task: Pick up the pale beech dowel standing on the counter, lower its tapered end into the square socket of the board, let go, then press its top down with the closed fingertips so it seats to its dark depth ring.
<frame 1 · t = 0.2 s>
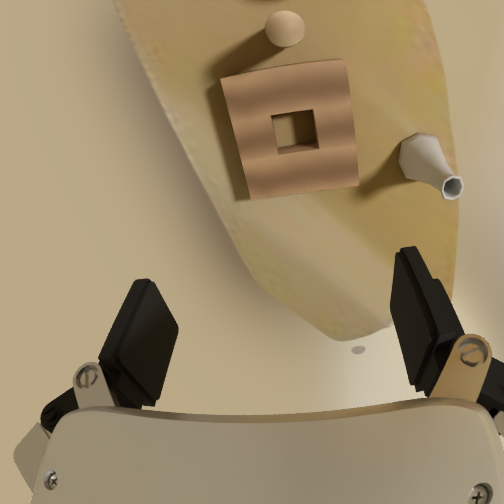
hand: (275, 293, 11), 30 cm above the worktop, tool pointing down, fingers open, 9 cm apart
peg: (283, 33, 29), on the worktop
flask: (419, 156, 37), on the worktop
board: (294, 126, 36), on the worktop
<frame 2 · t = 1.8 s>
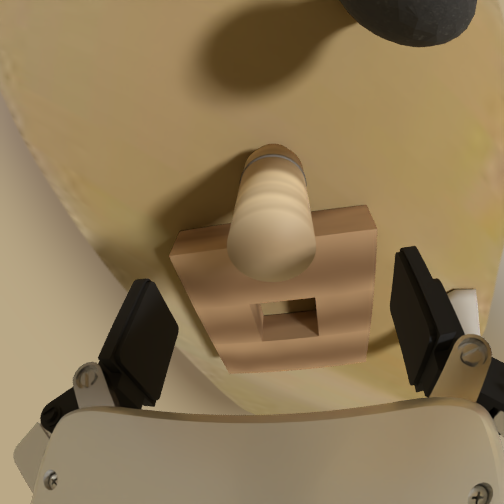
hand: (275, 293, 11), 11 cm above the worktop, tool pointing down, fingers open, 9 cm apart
peg: (273, 163, 19), on the worktop
flask: (448, 309, 27), on the worktop
light bulb: (357, 1, 12), on the worktop
board: (286, 294, 27), on the worktop
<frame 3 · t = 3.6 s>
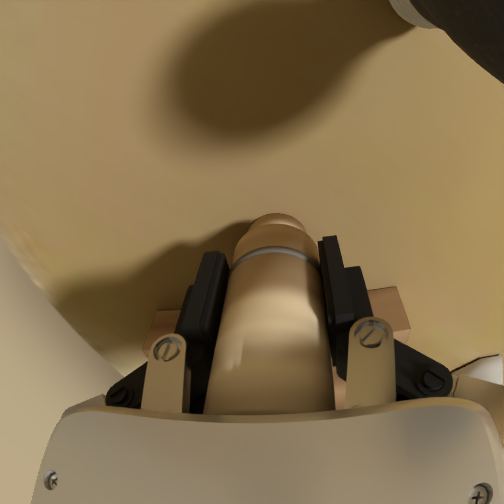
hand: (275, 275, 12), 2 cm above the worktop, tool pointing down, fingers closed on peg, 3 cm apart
peg: (276, 239, 14), on the worktop, touching gripper
flask: (469, 374, 22), on the worktop
light bulb: (407, 1, 7), on the worktop
board: (288, 375, 21), on the worktop
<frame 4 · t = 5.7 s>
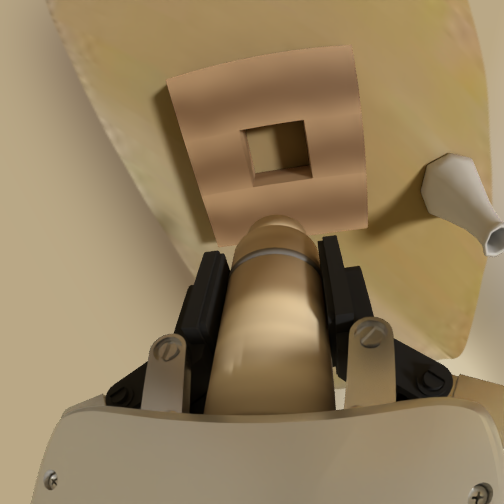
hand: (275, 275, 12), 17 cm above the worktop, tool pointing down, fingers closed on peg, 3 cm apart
peg: (276, 241, 14), point 15 cm above the worktop, touching gripper
flask: (448, 183, 26), on the worktop
board: (277, 143, 26), on the worktop
when the fingers open (3 cm above the worktop, at t = 8.1 s): peg drops 1 cm, resting in board.
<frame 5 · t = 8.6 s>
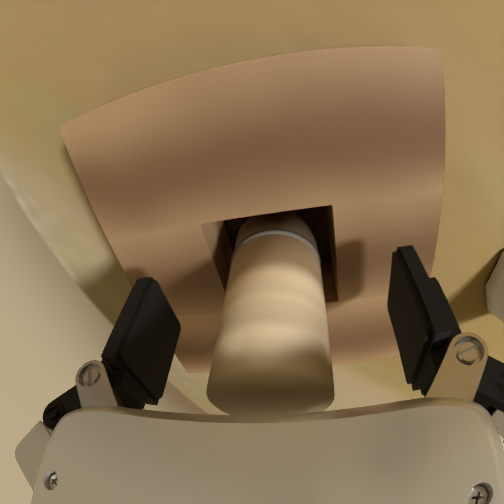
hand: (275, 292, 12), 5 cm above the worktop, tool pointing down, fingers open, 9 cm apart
peg: (276, 226, 15), resting in board
board: (277, 227, 15), on the worktop
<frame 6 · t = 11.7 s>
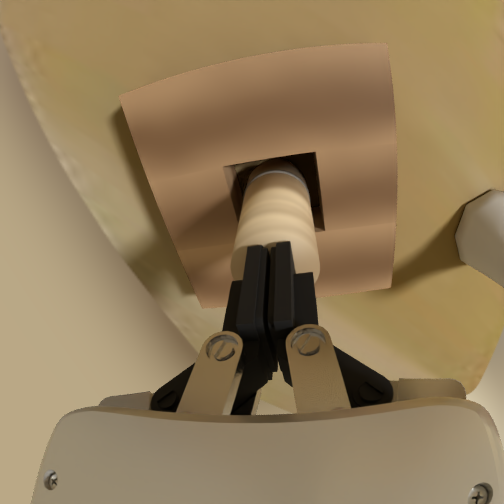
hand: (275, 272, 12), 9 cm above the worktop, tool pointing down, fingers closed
peg: (277, 178, 20), resting in board, touching gripper
flask: (486, 224, 20), on the worktop
board: (277, 178, 20), on the worktop
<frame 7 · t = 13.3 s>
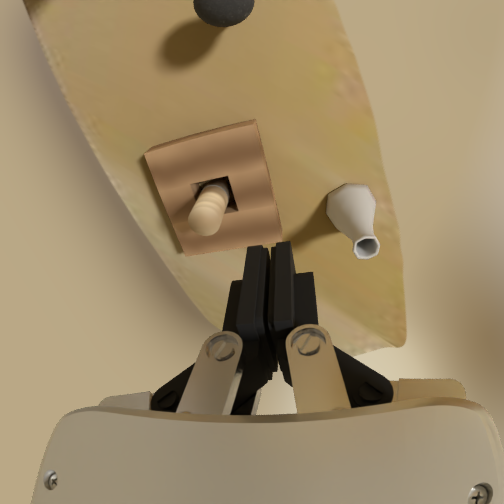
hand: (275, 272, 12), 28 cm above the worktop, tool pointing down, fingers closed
peg: (218, 187, 41), resting in board
flask: (350, 205, 41), on the worktop
light bulb: (234, 11, 27), on the worktop
board: (218, 188, 41), on the worktop
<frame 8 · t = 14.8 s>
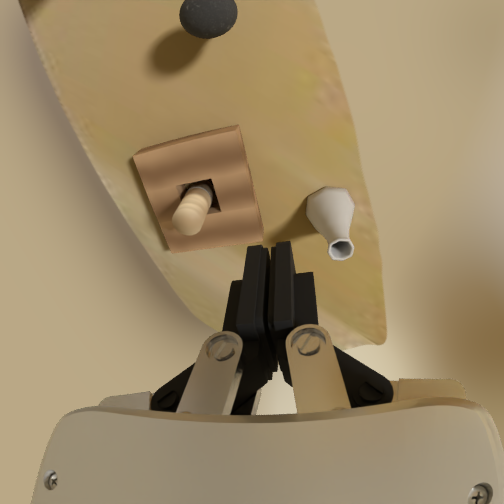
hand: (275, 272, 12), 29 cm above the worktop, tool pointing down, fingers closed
peg: (203, 189, 42), resting in board
flask: (329, 207, 43), on the worktop
light bulb: (221, 20, 29), on the worktop
board: (203, 189, 42), on the worktop
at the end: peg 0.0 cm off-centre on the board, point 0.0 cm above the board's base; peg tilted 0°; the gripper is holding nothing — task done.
